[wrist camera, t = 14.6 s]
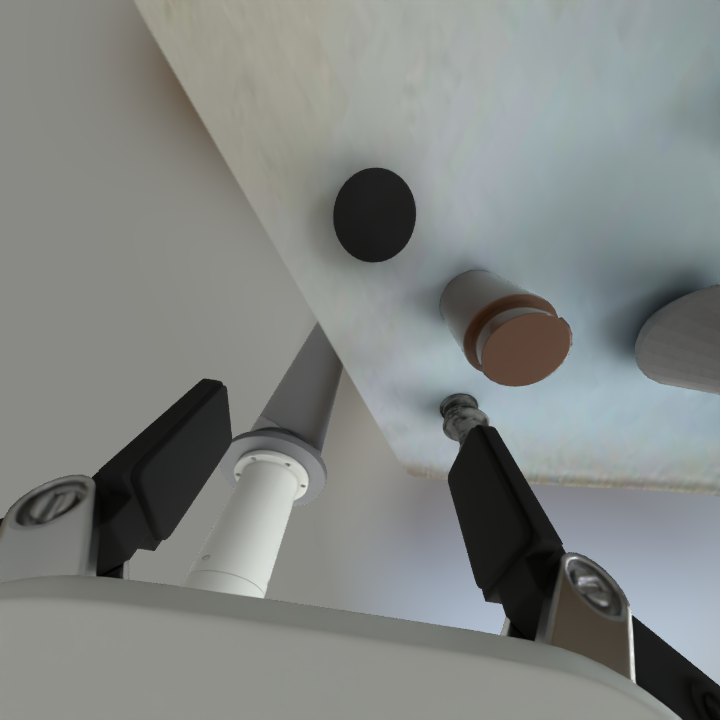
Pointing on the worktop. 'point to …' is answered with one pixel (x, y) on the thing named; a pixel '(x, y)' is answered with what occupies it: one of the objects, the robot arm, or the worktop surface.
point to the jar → (504, 328)
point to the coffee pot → (683, 342)
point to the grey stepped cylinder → (461, 416)
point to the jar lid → (374, 215)
